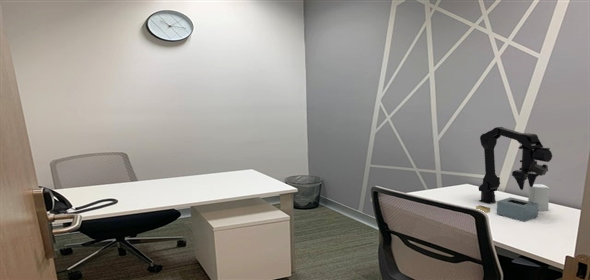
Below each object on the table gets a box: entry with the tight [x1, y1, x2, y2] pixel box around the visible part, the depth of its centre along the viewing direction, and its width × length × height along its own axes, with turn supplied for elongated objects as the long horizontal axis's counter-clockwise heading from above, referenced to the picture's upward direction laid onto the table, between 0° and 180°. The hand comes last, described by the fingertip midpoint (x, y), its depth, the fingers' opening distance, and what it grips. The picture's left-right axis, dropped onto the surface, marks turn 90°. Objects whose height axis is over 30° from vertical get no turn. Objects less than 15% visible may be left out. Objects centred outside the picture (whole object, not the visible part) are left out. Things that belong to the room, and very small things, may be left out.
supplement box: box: [527, 183, 550, 212], centre depth 204 cm, size 7×7×13 cm
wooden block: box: [475, 205, 491, 214], centre depth 203 cm, size 6×3×2 cm, turn 31°
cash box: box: [496, 196, 539, 222], centre depth 194 cm, size 14×12×7 cm
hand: (526, 188), depth 196 cm, fingers open, 9 cm apart
